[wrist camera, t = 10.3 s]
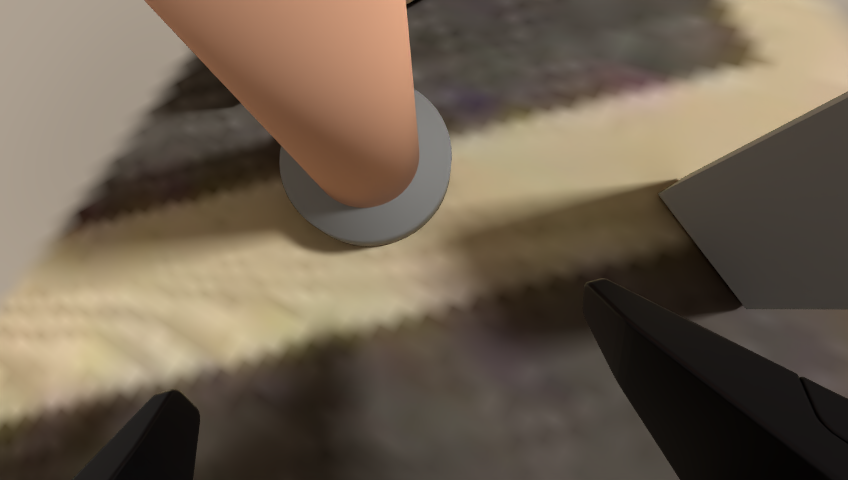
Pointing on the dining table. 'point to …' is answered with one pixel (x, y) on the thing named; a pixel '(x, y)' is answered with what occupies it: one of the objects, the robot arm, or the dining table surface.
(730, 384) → the robot arm
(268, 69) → the door stop
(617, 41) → the dining table surface
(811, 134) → the door frame
